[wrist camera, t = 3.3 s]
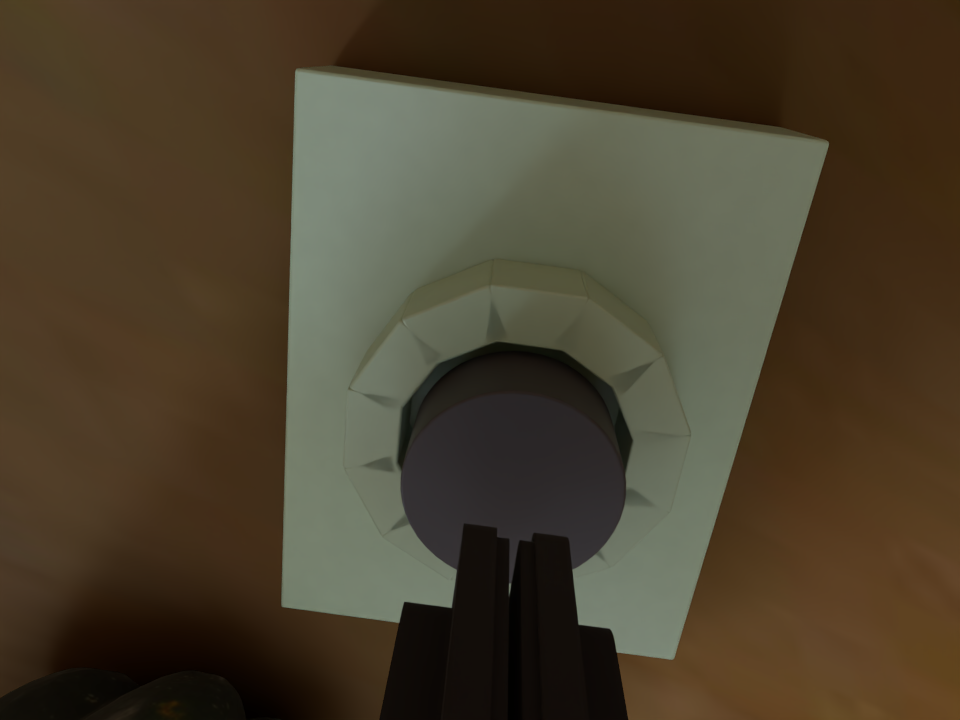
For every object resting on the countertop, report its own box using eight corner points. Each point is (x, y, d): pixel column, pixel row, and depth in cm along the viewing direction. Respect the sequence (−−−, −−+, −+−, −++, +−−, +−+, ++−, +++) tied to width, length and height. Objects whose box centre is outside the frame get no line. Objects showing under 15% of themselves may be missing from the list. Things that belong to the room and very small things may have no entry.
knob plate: (329, 65, 18) (262, 69, 13) (782, 127, 18) (876, 153, 13) (308, 541, 23) (256, 663, 18) (655, 588, 23) (689, 721, 19)
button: (423, 335, 15) (410, 375, 13) (633, 364, 15) (648, 408, 13) (405, 512, 17) (391, 569, 15) (593, 537, 17) (603, 597, 15)
